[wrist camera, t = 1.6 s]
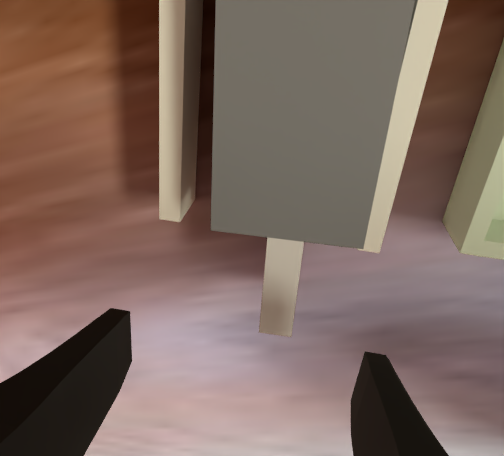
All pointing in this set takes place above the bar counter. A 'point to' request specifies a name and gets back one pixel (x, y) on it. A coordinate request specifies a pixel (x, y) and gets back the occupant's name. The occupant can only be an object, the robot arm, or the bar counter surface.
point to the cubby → (187, 107)
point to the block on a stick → (301, 127)
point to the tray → (482, 179)
